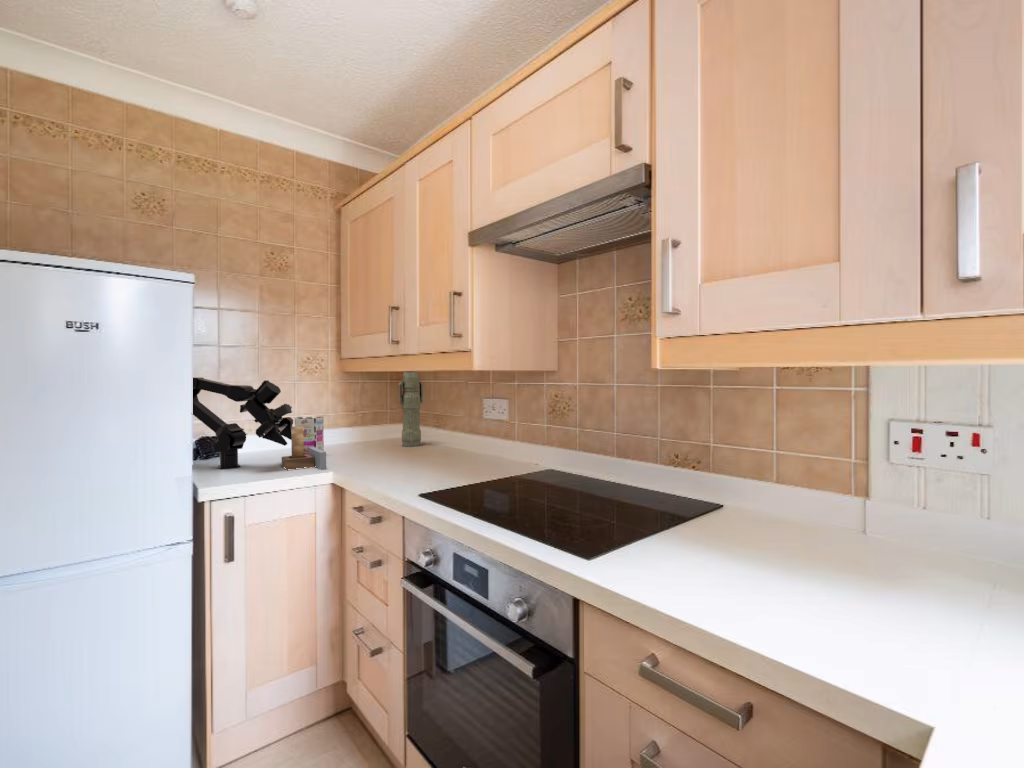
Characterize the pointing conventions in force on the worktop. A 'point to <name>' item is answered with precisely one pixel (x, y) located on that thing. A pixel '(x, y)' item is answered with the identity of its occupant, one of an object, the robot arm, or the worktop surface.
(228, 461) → the robot arm
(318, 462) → the backstop wall
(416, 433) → the green stone statue
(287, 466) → the socket block
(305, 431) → the candy bar box
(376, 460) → the worktop surface
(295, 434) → the dowel
